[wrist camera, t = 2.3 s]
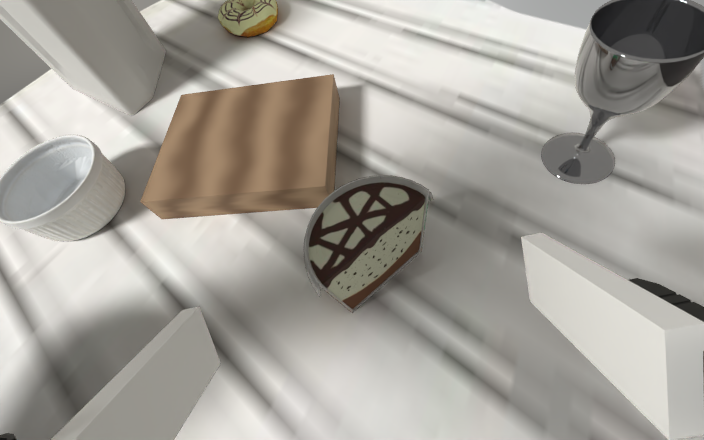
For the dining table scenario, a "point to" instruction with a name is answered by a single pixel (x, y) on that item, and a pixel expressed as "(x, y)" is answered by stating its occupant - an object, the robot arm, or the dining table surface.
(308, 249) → the food container
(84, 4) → the white triangular vase
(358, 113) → the dining table surface
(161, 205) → the walnut stand
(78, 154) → the ramekin
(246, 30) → the decorated donut
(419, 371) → the dining table surface
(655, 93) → the wine glass
